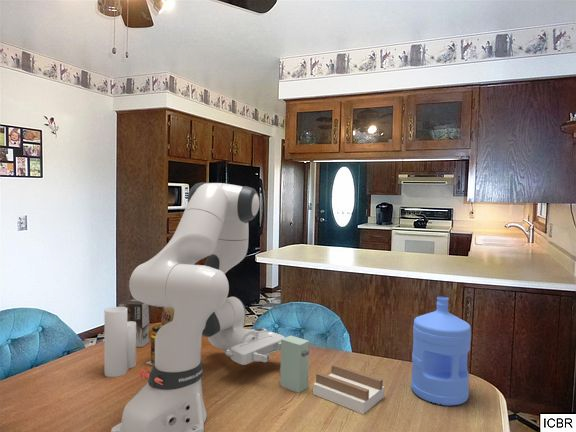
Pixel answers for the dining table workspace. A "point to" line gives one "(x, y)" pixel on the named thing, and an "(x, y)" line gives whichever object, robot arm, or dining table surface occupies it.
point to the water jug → (440, 356)
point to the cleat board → (349, 388)
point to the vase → (118, 342)
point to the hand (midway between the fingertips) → (278, 354)
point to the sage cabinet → (294, 363)
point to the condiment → (153, 343)
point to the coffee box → (138, 319)
